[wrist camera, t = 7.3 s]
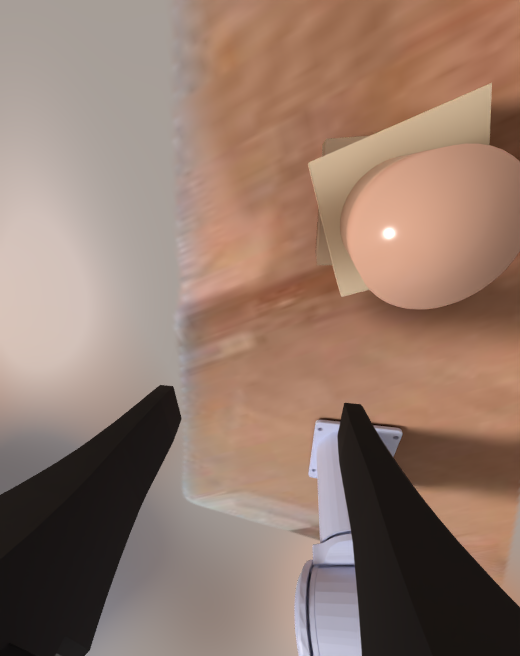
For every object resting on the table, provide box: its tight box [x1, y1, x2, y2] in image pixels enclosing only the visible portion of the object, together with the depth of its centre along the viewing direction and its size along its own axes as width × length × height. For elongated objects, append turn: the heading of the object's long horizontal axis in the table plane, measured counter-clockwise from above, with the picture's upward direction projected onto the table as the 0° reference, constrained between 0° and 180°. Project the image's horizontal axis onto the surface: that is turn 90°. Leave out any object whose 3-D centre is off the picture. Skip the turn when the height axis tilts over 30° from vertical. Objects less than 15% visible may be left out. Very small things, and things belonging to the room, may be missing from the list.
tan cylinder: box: [340, 144, 520, 309], centre depth 9 cm, size 4×4×4 cm
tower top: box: [308, 83, 492, 297], centre depth 12 cm, size 6×6×3 cm
